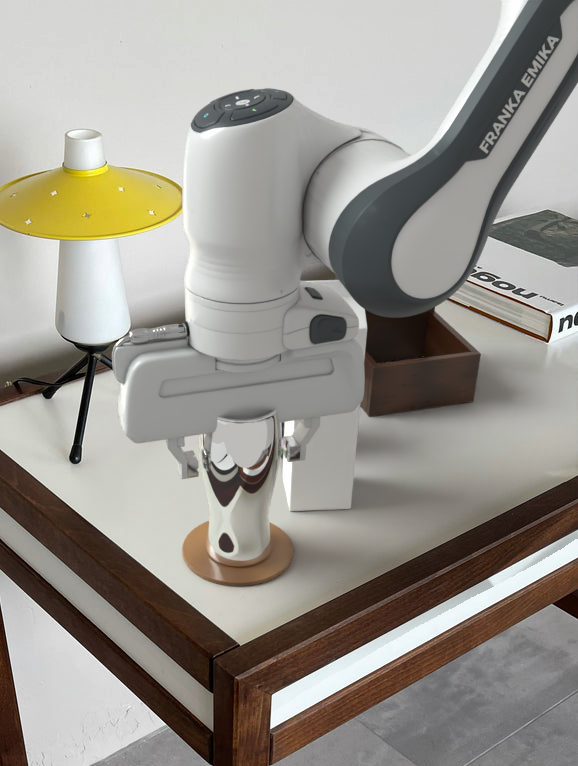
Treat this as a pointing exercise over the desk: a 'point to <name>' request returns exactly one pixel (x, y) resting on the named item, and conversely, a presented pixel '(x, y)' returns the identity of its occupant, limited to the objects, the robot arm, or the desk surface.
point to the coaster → (236, 576)
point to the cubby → (416, 364)
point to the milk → (327, 446)
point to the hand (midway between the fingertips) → (241, 466)
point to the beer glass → (240, 487)
